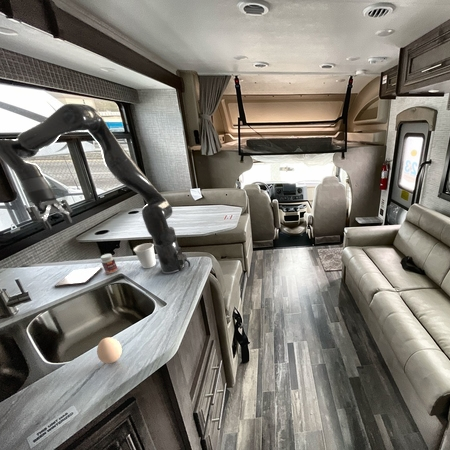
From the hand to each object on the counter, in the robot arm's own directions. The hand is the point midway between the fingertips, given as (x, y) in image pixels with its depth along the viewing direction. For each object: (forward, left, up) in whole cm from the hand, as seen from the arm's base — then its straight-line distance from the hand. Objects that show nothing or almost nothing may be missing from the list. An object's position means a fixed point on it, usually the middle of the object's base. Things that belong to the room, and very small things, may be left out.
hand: (60, 226), depth 103 cm
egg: (-40, +52, -25) cm, 70 cm away
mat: (0, +2, -25) cm, 25 cm away
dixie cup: (-28, -3, -25) cm, 38 cm away
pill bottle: (-12, -1, -25) cm, 28 cm away
